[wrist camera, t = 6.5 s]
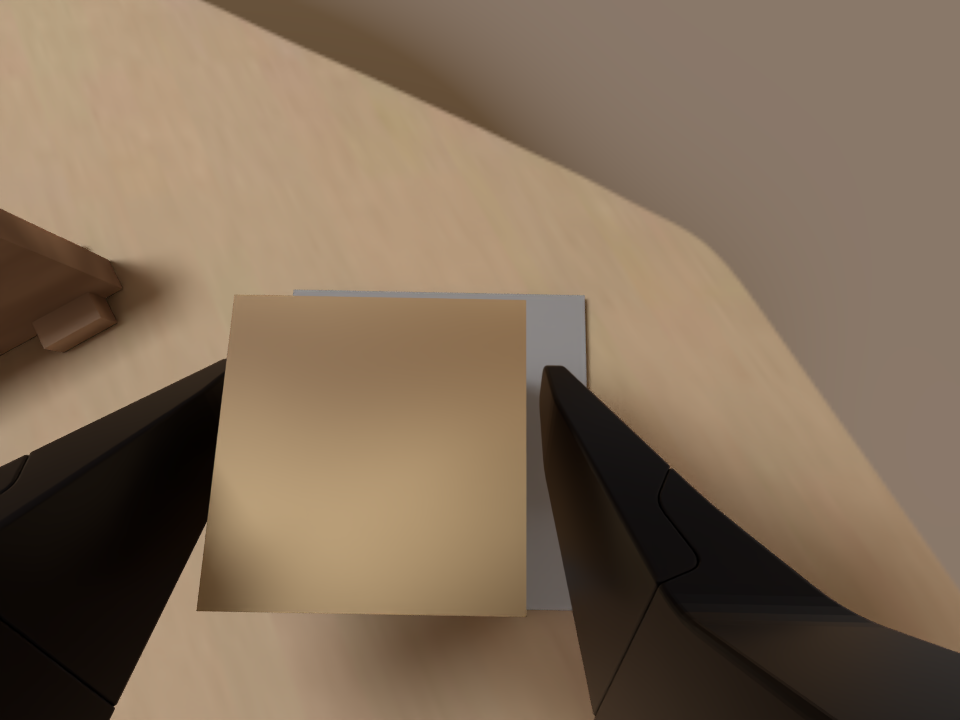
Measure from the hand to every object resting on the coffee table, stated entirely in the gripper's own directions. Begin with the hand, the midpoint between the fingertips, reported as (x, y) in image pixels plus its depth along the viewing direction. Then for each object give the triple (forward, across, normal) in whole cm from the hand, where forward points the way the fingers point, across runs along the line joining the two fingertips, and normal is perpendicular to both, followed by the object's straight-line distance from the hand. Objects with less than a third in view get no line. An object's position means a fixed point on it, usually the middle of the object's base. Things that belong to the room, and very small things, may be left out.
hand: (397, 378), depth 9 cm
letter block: (+5, 0, +7) cm, 8 cm away
